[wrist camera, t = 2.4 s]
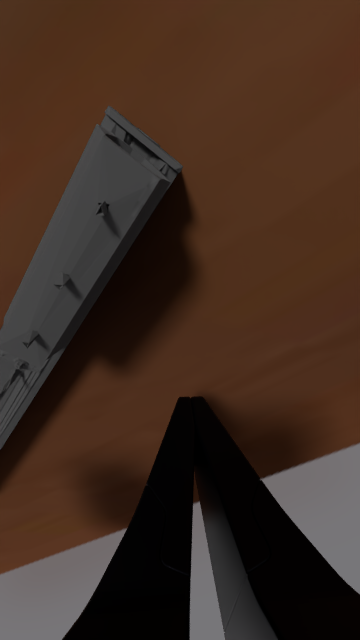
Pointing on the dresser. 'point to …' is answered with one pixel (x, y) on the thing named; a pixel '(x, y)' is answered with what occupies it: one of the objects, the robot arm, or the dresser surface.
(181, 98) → the dresser surface
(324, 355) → the dresser surface
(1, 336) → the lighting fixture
